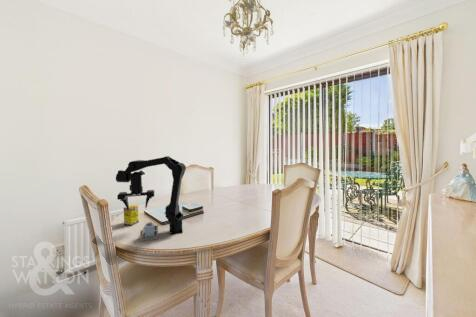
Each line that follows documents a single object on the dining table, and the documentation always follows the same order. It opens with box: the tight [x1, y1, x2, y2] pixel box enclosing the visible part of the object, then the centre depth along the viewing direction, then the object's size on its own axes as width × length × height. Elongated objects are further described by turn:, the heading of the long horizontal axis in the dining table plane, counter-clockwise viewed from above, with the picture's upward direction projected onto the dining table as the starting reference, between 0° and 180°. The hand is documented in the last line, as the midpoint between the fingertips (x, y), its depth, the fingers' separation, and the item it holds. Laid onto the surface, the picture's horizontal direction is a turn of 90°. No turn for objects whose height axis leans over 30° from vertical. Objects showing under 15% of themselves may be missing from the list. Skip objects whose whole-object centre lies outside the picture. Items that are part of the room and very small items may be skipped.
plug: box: [144, 221, 156, 238], centre depth 113 cm, size 4×4×8 cm
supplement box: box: [123, 204, 139, 227], centre depth 130 cm, size 6×6×11 cm
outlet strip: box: [139, 224, 159, 242], centre depth 117 cm, size 9×15×2 cm, turn 19°
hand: (137, 209), depth 121 cm, fingers open, 9 cm apart
